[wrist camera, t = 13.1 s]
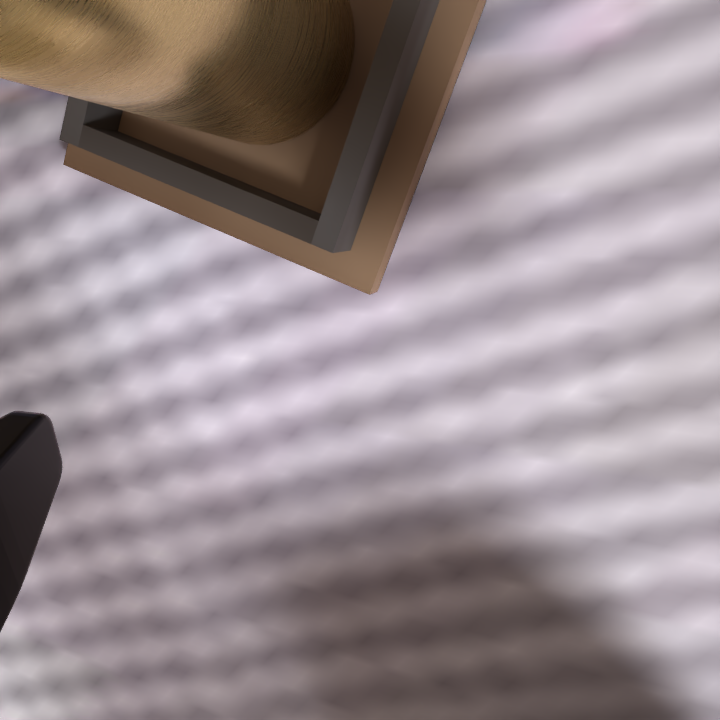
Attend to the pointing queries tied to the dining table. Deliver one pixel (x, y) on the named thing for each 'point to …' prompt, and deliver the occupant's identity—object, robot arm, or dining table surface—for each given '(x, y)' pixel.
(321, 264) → the square brown tray
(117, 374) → the dining table surface
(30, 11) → the billet
